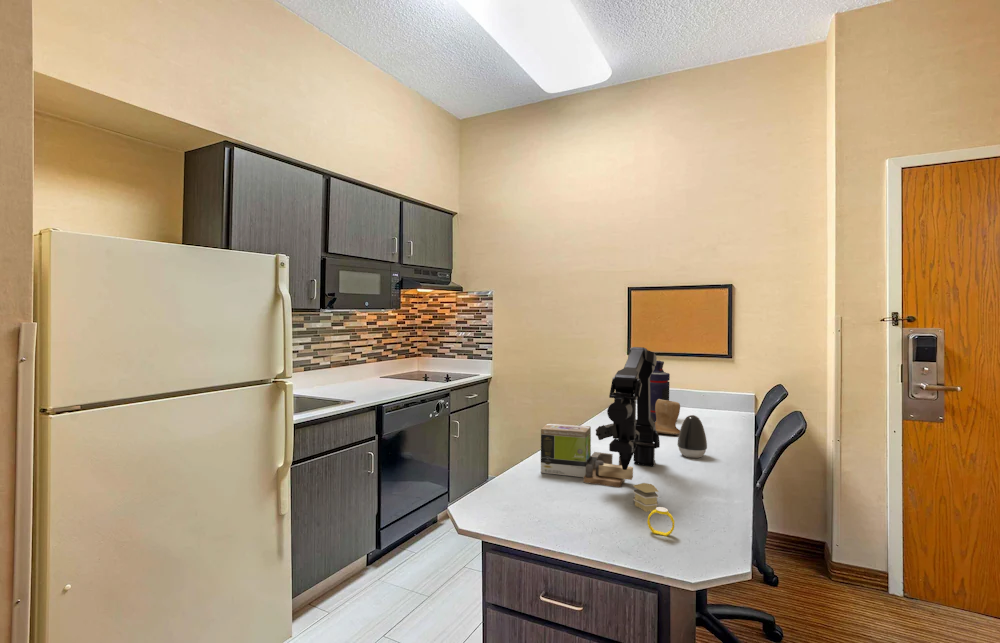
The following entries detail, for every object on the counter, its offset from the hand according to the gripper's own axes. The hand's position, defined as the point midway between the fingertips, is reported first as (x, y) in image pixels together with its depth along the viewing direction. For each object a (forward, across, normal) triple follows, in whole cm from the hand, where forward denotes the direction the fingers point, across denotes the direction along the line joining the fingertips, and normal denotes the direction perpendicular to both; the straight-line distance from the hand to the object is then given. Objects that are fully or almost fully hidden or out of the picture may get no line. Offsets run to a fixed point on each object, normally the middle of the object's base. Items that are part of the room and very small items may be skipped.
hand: (624, 469), depth 148 cm
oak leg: (+4, -6, -4) cm, 9 cm away
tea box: (+6, -10, -20) cm, 24 cm away
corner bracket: (+5, -14, -10) cm, 18 cm away
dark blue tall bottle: (+7, -107, -2) cm, 107 cm away
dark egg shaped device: (+6, -48, +17) cm, 51 cm away
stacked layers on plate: (+7, +11, +7) cm, 15 cm away
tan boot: (+7, -83, +4) cm, 83 cm away
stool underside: (+6, -10, -7) cm, 14 cm away
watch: (+6, +27, +12) cm, 30 cm away
